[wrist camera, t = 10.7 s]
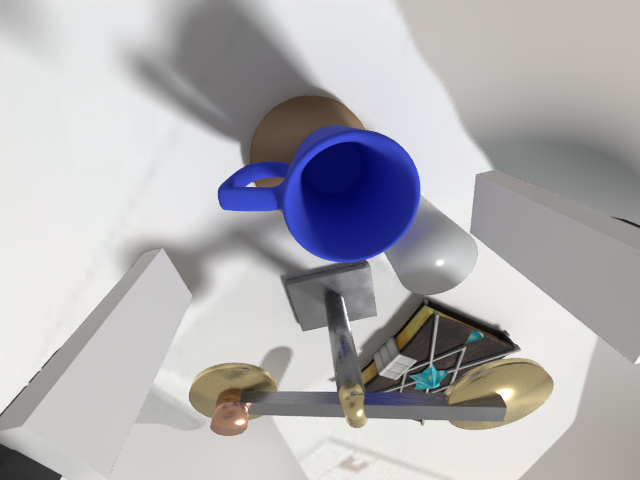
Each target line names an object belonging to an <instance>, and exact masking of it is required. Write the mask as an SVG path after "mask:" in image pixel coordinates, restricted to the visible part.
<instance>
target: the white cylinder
mask: <svg viewBox="0 0 640 480" xmlns="http://www.w3.org/2000/svg"><path fill="white" fill-rule="evenodd" d="M384 253H385V255H386V256H387V258H388V260H389V262H390V263H391V265H392V267H393V269H394V271H395V272H396V274H397V276H398V278H399V280H400V281H401V283H402V285H403V286H404V287H405V288H406V289H407V290H409V291H411V292H413V293H416V294H420V295H434V294H439V293H443V292H445V291H448V290H450V289H452V288H454V287H455V286H457V285H458V284H460V283H461V282H462V281H463V280H464V279H465V278H466V277H467V276H468V275H469V274H470V273H471V271H472V269H473V268H474V266H475V264H476V261H477V256H478V249H477V245H476V242H475V241H474V239H473V238H472V237H471V236H470V235H469V234H468V233H467V232H465V231H464V230H463V229H462V228H461V227H459V226H458V225H457V224H456V223H454V222H453V221H452V220H451V219H450V218H448V217H447V216H446V215H445V214H443V213H442V212H441V211H440V210H438V209H437V208H436V207H435V206H434V205H432V204H431V203H430V202H429V201H427V200H426V199H425V198H424V197H423V196H421V195H420V201H419V206H418V210H417V213H416V215H415V218H414V220H413V222H412V224H411V225H410V227H409V228H408V230H407V231H406V233H405V234H404V235H403V236H402V237H401V238H400V239H399V240H398V241H397V242H396V243H395V244H394V245H393V246H391V247H390V248H389V249H387V250H386V251H384Z"/></svg>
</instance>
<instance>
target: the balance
mask: <svg viewBox="0 0 640 480" xmlns="http://www.w3.org/2000/svg"><path fill="white" fill-rule="evenodd" d="M286 286H287V289H288V292H289V294H290V297H291V300H292V303H293V306H294V309H295V311H296V314H297V317H298V320H299V323H300V326H301V328H302V331H308V330H312V329H317V328H322V327H326V326H328V330H329V337H330V344H331V351H332V358H333V365H334V372H335V379H336V386H337V392H278V383H277V381H276V379H275V378H274V377H273V376H272V375H271V374H270V373H269V372H267V371H266V370H264V369H262V368H260V367H257V366H254V365H250V364H245V363H224V364H219V365H215V366H212V367H209V368H207V369H205V370H204V371H202V372H201V373H199V374H198V375H197V376H196V378H195V379H194V381H193V383H192V386H191V389H190V392H189V400H190V403H191V405H192V406H193V407H194V408H195V409H196V410H197V411H198V412H200V413H201V414H203V415H205V416H207V417H210V418H212V422H211V426H210V427H211V430H212V431H213V432H215V433H216V434H219V435H223V436H233V435H238V434H241V433H243V432H244V431H245V430H246V428H247V423H248V420H251V419H255V418H258V417H260V416H263V415H279V416H314V417H345V419H346V421H347V423H348V424H349V425H350V426H351V427H354V428H360V427H362V426H364V425H365V424H366V422H367V420H368V418H385V419H420V420H449V422H450V423H451V424H452V425H454V426H456V427H458V428H462V429H467V430H484V429H491V428H495V427H500V426H503V425H506V424H509V423H512V422H514V421H517V420H519V419H521V418H523V417H525V416H527V415H529V414H530V413H532V412H533V411H535V410H536V409H537V408H539V407H540V406H541V405H542V404H543V403H544V402H545V401H546V400H547V399H548V398H549V396H550V395H551V393H552V390H553V385H554V384H553V380H552V378H551V377H550V375H549V374H548V373H547V372H546V371H545V370H544V369H543V368H542V367H541V366H540V364H538V363H537V362H535V361H532V360H529V359H523V358H509V359H502V360H497V361H493V362H489V363H486V364H483V365H481V366H478V367H476V368H474V369H472V370H470V371H468V372H466V373H465V374H463V375H462V376H460V377H459V378H457V379H456V380H455V381H454V382H453V383H452V384H451V385H450V386H449V387H448V388H447V389H446V391H445V393H404V392H366V391H365V387H364V383H363V379H362V374H361V370H360V366H359V362H358V357H357V353H356V349H355V345H354V341H353V336H352V332H351V328H350V324H349V321H354V320H359V319H363V318H368V317H373V316H377V312H376V305H375V297H374V290H373V283H372V276H371V269H370V265H369V263H368V262H367V263H362V264H358V265H353V266H349V267H344V268H340V269H335V270H331V271H326V272H322V273H317V274H313V275H308V276H304V277H299V278H295V279H290V280H287V283H286Z"/></svg>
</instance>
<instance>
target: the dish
mask: <svg viewBox="0 0 640 480" xmlns="http://www.w3.org/2000/svg"><path fill="white" fill-rule="evenodd" d="M334 125H338V126H346V127H351V128H357V129H362V130H365V128H364V127H363V125H362V123H361V122H360V120H359V119H358V118H357V117H356V116H355V114H354V113H353V112H351V111H350V110H349V109H348V108H347V107H345V106H344V105H342V104H341V103H339V102H336V101H334V100H332V99H329V98H325V97H320V96H301V97H296V98H293V99H289V100H287V101H285V102H283V103H281V104H280V105H278V106H277V107H275V108H274V109H273V110H272V111H271V112H270V113H269V114H268V115H267V116H266V117H265V118H264V119H263V121H262V122H261V123H260V125H259V127H258V128H257V130H256V133H255V135H254V138H253V141H252V145H251V152H250V164H253V163H258V162H284V163H288V164H289V165H291V163H292V161H293V159H294V156H295V154H296V152H297V150H298V148H299V146H300V145H301V143H302V142H303V141H304V140H305V138H306V137H307V136H309V135H310V134H311V133H313V132H314V131H316V130H318V129H320V128H323V127H326V126H334ZM284 179H285V178H281V177H268V178H261V179H258V180H255V183H256V185H257V187H274V186H278V185H280V184H281V183H282V182H283V181H284ZM279 211H281V212H283V210H279Z"/></svg>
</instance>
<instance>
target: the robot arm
mask: <svg viewBox="0 0 640 480" xmlns="http://www.w3.org/2000/svg"><path fill="white" fill-rule="evenodd" d="M470 233H471V234H473V235H474V236H475V237H476V238H478V239H479V240H480V241H481V242H483V243H484V244H485V245H486V246H488V247H489V248H490V249H491V250H492V251H494V252H495V253H496V254H497V255H499V256H500V257H501V258H502V259H504V260H505V261H506V262H507V263H509V264H510V265H511V266H512V267H514V268H515V269H516V270H517V271H519V272H520V273H521V274H522V275H524V276H525V277H526V278H527V279H529V280H530V281H531V282H532V283H534V284H535V285H536V286H537V287H539V288H540V289H541V290H542V291H543V292H545V293H546V294H547V295H548V296H550V297H551V298H552V299H553V300H555V301H556V302H557V303H558V304H560V305H561V306H562V307H563V308H565V309H566V310H567V311H568V312H570V313H571V314H572V315H573V316H575V317H576V318H577V319H578V320H580V321H581V322H582V323H583V324H585V325H586V326H587V327H588V328H589V329H591V330H592V331H593V332H594V333H596V334H597V335H598V336H599V337H601V338H602V339H603V340H605V341H606V342H607V343H608V344H609V345H611V346H612V347H613V348H614V349H616V350H617V351H618V352H619V353H621V354H622V355H623V356H624V357H626V358H627V359H628V360H629V361H631V362H632V363H633V364H636V363H640V225H637V224H635V223H632V222H630V221H627V220H624V219H619V218H615V217H611V216H608V215H605V214H603V213H600V212H598V211H595V210H593V209H590V208H588V207H585V206H583V205H580V204H578V203H575V202H573V201H570V200H568V199H566V198H563V197H561V196H558V195H556V194H553V193H551V192H548V191H546V190H543V189H541V188H538V187H536V186H533V185H531V184H528V183H526V182H523V181H521V180H518V179H516V178H513V177H511V176H509V175H506V174H504V173H501V172H499V171H496V170H492V171H488V172H484V173H480V174H476V180H475V189H474V199H473V209H472V218H471V228H470ZM192 297H193V296H192V294H191V293H190V291H189V289H188V288H187V286H186V285H185V283H184V281H183V280H182V278H181V276H180V275H179V273H178V272H177V270H176V268H175V267H174V265H173V264H172V262H171V260H170V259H169V257H168V255H167V254H166V252H165V251H164V249H163V248H159V249H155V250H151V251H146V252H144V253H143V254H142V256H141V257H140V258H139V259H138V260H137V261H136V262H135V264H134V265H133V266H132V267H131V268H130V269H129V270H128V272H127V273H126V274H125V275H124V276H123V277H122V278H121V280H120V281H119V282H118V283H117V284H116V285H115V286H114V288H113V289H112V290H111V291H110V292H109V293H108V294H107V296H106V297H105V298H104V299H103V300H102V301H101V302H100V304H99V305H98V306H97V307H96V308H95V309H94V310H93V311H92V313H91V314H90V315H89V316H88V317H87V318H86V319H85V321H84V322H83V323H82V324H81V325H80V326H79V327H78V329H77V330H76V331H75V332H74V333H73V334H72V335H71V337H70V338H69V339H68V340H67V341H66V342H65V343H64V345H63V346H62V347H61V348H59V349H58V350H57V351H56V352H55V353H54V354H53V355H52V357H51V358H50V359H49V360H48V361H47V362H46V363H45V364H44V366H43V367H42V370H41V371H38V372H37V374H36V375H35V376H34V377H33V378H32V379H31V380H30V381H29V384H28V386H25V387H24V388H23V389H22V391H21V392H20V393H19V394H18V395H17V396H16V397H15V398H14V400H13V401H12V402H11V403H10V404H9V405H8V406H7V408H6V409H5V410H4V411H3V412H2V413H1V414H0V480H60V479H61V477H64V478H66V479H68V480H106V479H109V477H110V475H111V472H112V470H113V468H114V466H115V464H116V461H117V459H118V457H119V455H120V453H121V450H122V449H123V446H124V444H125V442H126V440H127V438H128V436H129V433H130V431H131V429H132V427H133V425H134V423H135V420H136V418H137V416H138V414H139V412H140V410H141V407H142V405H143V403H144V401H145V399H146V397H147V394H148V392H149V390H150V388H151V386H152V384H153V381H154V379H155V377H156V375H157V373H158V371H159V368H160V366H161V364H162V362H163V360H164V358H165V355H166V353H167V351H168V349H169V347H170V345H171V342H172V340H173V338H174V336H175V334H176V332H177V329H178V327H179V325H180V323H181V321H182V319H183V316H184V314H185V312H186V310H187V308H188V306H189V303H190V301H191V299H192Z"/></svg>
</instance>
